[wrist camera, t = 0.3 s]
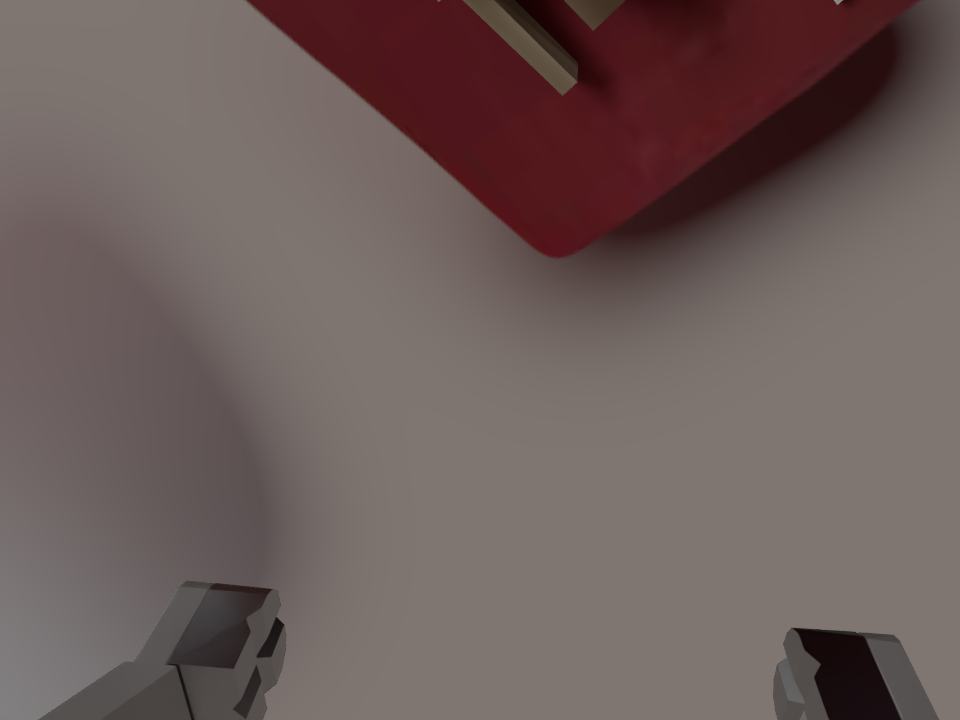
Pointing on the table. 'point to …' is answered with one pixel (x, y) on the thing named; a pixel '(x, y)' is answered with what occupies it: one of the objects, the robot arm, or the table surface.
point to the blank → (594, 10)
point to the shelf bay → (529, 41)
